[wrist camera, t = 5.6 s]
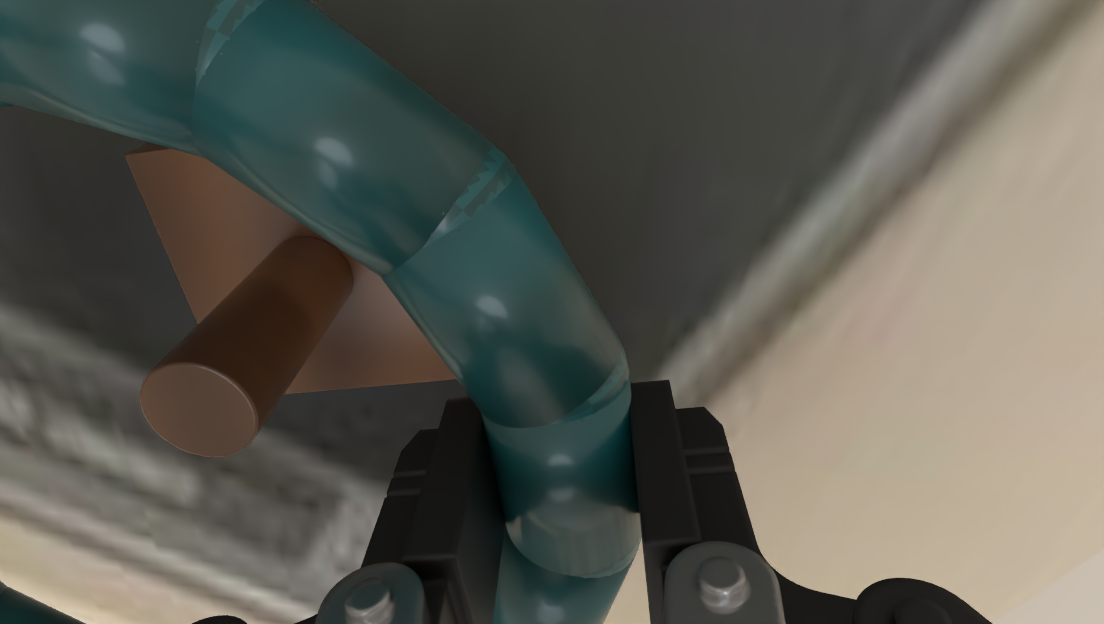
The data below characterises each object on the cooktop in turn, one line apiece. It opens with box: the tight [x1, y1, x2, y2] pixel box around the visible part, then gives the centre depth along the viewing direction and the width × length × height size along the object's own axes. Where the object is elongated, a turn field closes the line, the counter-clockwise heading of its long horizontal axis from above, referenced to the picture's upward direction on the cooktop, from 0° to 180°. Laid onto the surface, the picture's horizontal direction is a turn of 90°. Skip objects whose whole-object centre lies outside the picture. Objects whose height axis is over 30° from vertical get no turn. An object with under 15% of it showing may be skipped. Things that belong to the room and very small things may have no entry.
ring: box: [0, 0, 642, 624], centre depth 12 cm, size 18×18×2 cm
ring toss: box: [125, 143, 456, 457], centre depth 17 cm, size 8×8×8 cm
